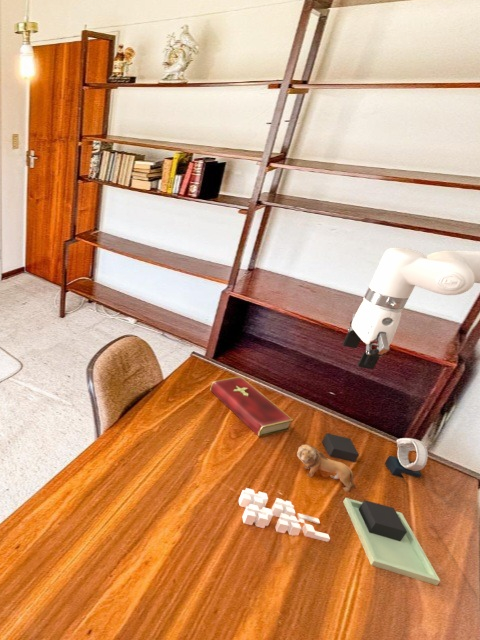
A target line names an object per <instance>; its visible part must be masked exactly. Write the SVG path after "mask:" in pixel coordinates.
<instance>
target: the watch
mask: <svg viewBox="0 0 480 640" xmlns="http://www.w3.org/2000/svg"><path fill="white" fill-rule="evenodd" d="M396 443H397V444H396V448H397V456H393V455H388V458H387V459H386V461H385V462H384V465H385V467H386V469H387V470H388V471H389V472H390V475H392V476H395V477H398V478H402V479H405V477H404V475H408V476H410V477H411V476H412V477H414V478H418V479H421V477H422V476H423V474H422V473H421V470H423V469H424V468H425V466H426V465H427V463H428V459H429V456H428V455H429V453H428V448H427V447H426V445H425V443H424V442H422V441H421V440H419V439H416V438H411V437H402V438H398V439H396ZM413 451H415V452H416V458H415V460H414V461H411V460H409V454H410V452H413ZM402 474H404V475H402Z"/></svg>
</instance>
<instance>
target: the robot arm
mask: <svg viewBox="0 0 480 640" xmlns="http://www.w3.org/2000/svg"><path fill="white" fill-rule="evenodd" d="M474 284H480V250H459V249H458V250H457V249H455V250H453V249H451V250H450V249H449V250H439V251H434V252H432V253H429V254H427V255H426V254H425V253H424V252H421V251H418V250H416V249H412V248H406V247H397V246H396V247H395V246H394V247H390V248H388V249H386V250H385V252H384V253H383V254H382V257H381V259H380V261H379V263H378V266H377V268H376V270H375V272H374V274H373V277H372V279H371V281H370V283H369V285H368V286H367V287H368V288H367V289H366V292H365V294H364V296H363V300H362V302H361V303H360V305H359V307H358V309H357V310H356V312H353V313H352V317H351V321H350V322H349V324H350V325H349V326H350V327H348V329H347V333H346V335H345V338H344V340H343V342H342V346H343V347H348V348H353V349H357V348H358V347H359V345H360V342H361V341H362V342H363V343H364V344H365V352H362V355H361V356H360V358H359V361H358V363H357V367H358V368H363V369H369V370H374V369H375V367H376V365H377V363H378V361H379V359H380V358H382V357H383V356H385V355H386V353H387V352H389V351H390V345H391V343H392V342H393V339H394V337H395V334H396V332H397V330H398V327H399V325H400V322H401V318H402V313H403V312H402V311H403V310H404V308H405V307H406V305H407V302H408V300H409V299H410V296H411V295H412V293H413V291H414V289H415V287H418V288H421V289H424V290H427V291H429V292H432V293H436V294H439V295H444V296H457V295H462V294H464V293H466V292H468V291H470V290H471V289H472V288H473V286H474ZM372 347H376V348H373V349H372Z"/></svg>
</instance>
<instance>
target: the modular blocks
mask: <svg viewBox="0 0 480 640" xmlns="http://www.w3.org/2000/svg"><path fill="white" fill-rule="evenodd" d="M268 500H269V497H268V494H267V492H264V491H263V492H262V491H258V492H257V493H255V489H251V488H248V487H245V489H242V491H241V493H240V496H239V498H238V504H239V507H241V508H243V509H244V508H245V509H244V511H243V514H242V516H241V518H242V522H243V524H245V525H249V526H253V524H254V525H255V527H257V528H262V529H265V527H269V525H270V523H271V521H272V519H273V517H276V518H278V519H277V520H276V524H275V526H274V529H275V532H276V533H280V534H286V533H288V536H292V537H295V536H299V534H300V533H301V531H302V533H303V536H304V537H308V538H311V539H315V540H319V541H323V542H326V543H329V542H330V541H331V537H330V535H329V534H328V533H325V532H321V531H318V530H315V528H314V525H313V524H309V523H306V522H305V521H307V522H310V523H314V524H317V525H320V524H321V522H320V519H319V518H317V517H314V516H311V515H307V514H303V513H300V512H297V513H296V510H295V505H293V504H292V503H293V502H292V501H290V500H284V499H282V498H279V497H275V501H274V503H273V504H272V506H271V508H268V507H266V505H267V503H268ZM296 515H297V516H296ZM300 523H301V524H303V526H301V524H300Z"/></svg>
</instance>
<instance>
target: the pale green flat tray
mask: <svg viewBox="0 0 480 640" xmlns="http://www.w3.org/2000/svg"><path fill="white" fill-rule="evenodd" d="M362 503H363V501H361V500H360V501H359V500H356V499H352V498H349V497H345V498H344V499H343V505H344V507H345V509H346V512H347V514H348V516H349V519H350V521H351V523H352V526H353V527H354V530H355V532H356V534H357V537H358V539H359V541H360V543H361V546H362V548H363V550H364V553H365V555H366V557H367V559H368V562H369V565H370V566H372V567H376V568H379V569H383V570H386V571H389V572H391V573H395V574H398V575H402V576H404V577H409V578H412V579H414V580H418V581H421V582H424V583H428V584H430V585H434V586H438V585H439V584H440V583H441V578H440V577H439V576H438V573H437V572H436V570H435V569H434V567H433V564H432V563H431V561H430V560H429V557H427V555H426V553H425V551H424V549H423V547H422V546H421V544H420V542H419V541H418V539H417V537H416V535H415V534H414V531H413V530H412V528H411V527H410V525H409V523H408V521H407V520H406V517H405V516H404V513H403V512H400V511H396V513H397V514H398V516H399V518H400V520H401V522H402V523H403V525H404V527H405V529H406V531H407V533H406V534H405V536H404V537H403V538H402V540H401V541H397V540H394V539H390V538H387V537H383V536H380V535H376V534H373V533H369V531H368V529H367V527H366V524H365V522H364V520H363V518H362V516H361V514H360V512H359V508H360V506H361V505H362Z"/></svg>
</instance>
